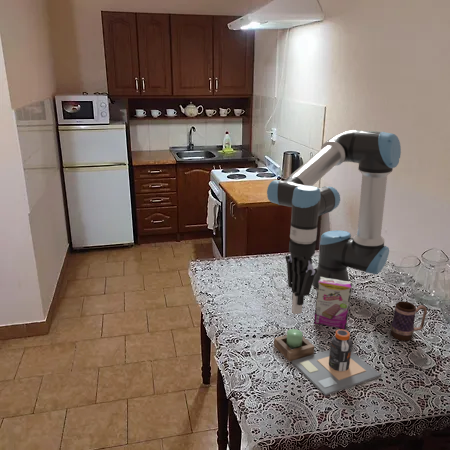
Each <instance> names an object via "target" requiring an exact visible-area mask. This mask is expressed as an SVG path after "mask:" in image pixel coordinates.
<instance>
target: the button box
mask: <svg viewBox="0 0 450 450" xmlns="http://www.w3.org/2000/svg"><path fill="white" fill-rule="evenodd" d="M286 342H287V334H285V335H280V336H277V337H274V339H273V347H274V348H275V349H276V350H277V351H278V352H279V353H280V354H281V355H282V356H283V357H284V358H285V359H286V360H287V361H288V362H289V363H292V361H293V360H296V359H300V358H303V357H306V356H310V355H313V354H315V349H316V348H315V345H314V344H313V343H311V341H309V340H308V339H307V338H306V337H305V336H303V337H302V346H301V347H299V348H295V349H292V348H290V347H288V346H287V344H286Z"/></svg>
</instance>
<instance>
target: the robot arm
mask: <svg viewBox="0 0 450 450" xmlns="http://www.w3.org/2000/svg"><path fill="white" fill-rule="evenodd" d="M401 148H402V147H401V142H400V139H399V137H398V136H397V135H396V134H395V133H390V132H385V131H376V130H375V131H374V130H361V129H360V130H359V129H352V130H346V131H344V132H341V133H337V134H336V135H334V136H333V137H330V138H329V139H328V140H326V141H325V142H324V143H323V144H322V146H321V148H320V150H319V151H317V153H314V155H313V156H312V157H310V158H309V159H307V161H305V162H304V163H303V164H301V166H299V167H298V168H297V169H296V170H295V171H294V172H292V173H291V174H290V175H289V176H288V177H286V178H285V179H284V180H281V179H279V180H278V179H275V180H274V179H273V180H272V181H270V183H269V184H268V186H267V189H266V195H267V199H268V201H269V202H270V203H273V204H277V205H278V206H285V207H288V208H291V217H290V218H291V219H290V231H289V232H290V233H289V238H290V239H289V244H288V252H289V253H290V254H289V255H285V256H284V257H285V258H284V259H285V261H286V269H287V284H288V288H289V289H291V292H292V297H291V299H292V300H291V301H292V304H291V313H292V314H293V315H297V314H302V312H303V305H304V302H305V301H304V300H305V297H306V296H309V295H310V293H311V289H312V286H314V288H316V289H318V282H319V279H320V277H325V278H331V279H337V280H343V281H349V282H350V279H349V273H348V268H350V269H353V270H357V271H361V272H364V273H366V274H371V275H377V274H380V273H381V271H382V270H383V268H384V267H385V265H386V264H387V261H388V259H389V253H390V248H389V246H387V245H385V238H384V237H383V236H382V228H383V219H384V212H385V211H384V210H385V209H384V208H385V202H386V201H385V200H386V193H387V192H386V191H387V181H388V176H389V175H390V174H392V172H393V169H394V168H397V166H398V165H399V162H400V159H401V153H402V151H401V150H402V149H401ZM346 162H347V163H354V164H358V167H357V168H358V171H359V173H361V175H362V176H361V185H360V187H361V188H360V198H359V208H358V221H357V222H358V223H357V230H356V231H357V232H356V233H355V235H353V237H352V235H351V232H349V231H347V230H329V231H325V232H324V233H322V235H320V242H319V252H318V263H317V264H318V265H317V268H314V267H313V260H312V257H313V256H314V254H315V253H316V245H317V243H316V241H317V235H318V223H319V222H318V221H319V217H320V216H322V215H324V214H328V213H331V212H333V211H335V210H336V209H337V208H338V207H339V205H340V203H341V195H340V192H339V191H338V190H337V189H336V188H335V187H333V186H322V187H316V186H314V185H315V184H316V183H318V182H319V181H320V180H322V179H321V178H323V177H324V176H325V175H326V174H327V173H328V172H330V171H331V170H332V169H333V168H334V167H336V166H340V165H341V164H343V163H346Z"/></svg>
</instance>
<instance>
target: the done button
mask: <svg viewBox="0 0 450 450" xmlns="http://www.w3.org/2000/svg"><path fill="white" fill-rule="evenodd" d="M286 335H287V342H286V344H287V346H288V347H289V348H290V349H291V350H292V349H295V348H299V347H301V346H302V337H304V336H303V332H302V331H301V330H299V329H296V328H292V329H291V328H290V329H288V330H287V332H286Z"/></svg>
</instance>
